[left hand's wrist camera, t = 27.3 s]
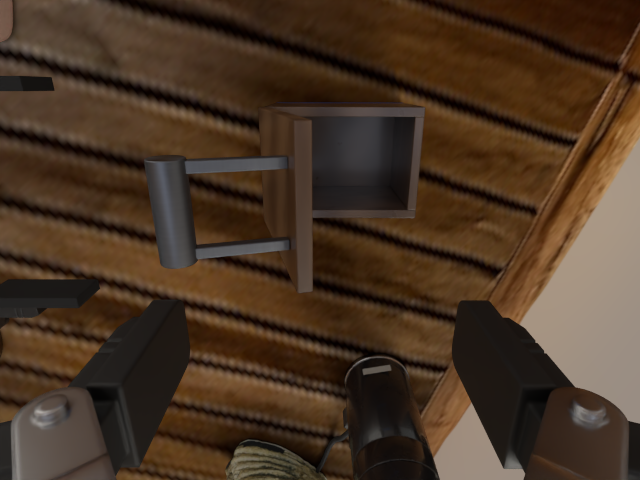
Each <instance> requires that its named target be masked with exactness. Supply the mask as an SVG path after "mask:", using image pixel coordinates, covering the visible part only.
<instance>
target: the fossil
mask: <svg viewBox="0 0 640 480" xmlns="http://www.w3.org/2000/svg"><path fill="white" fill-rule="evenodd" d="M225 471H226V475H227V480H327V479H326V477H325V476H324V475H323V474H322V473H320V472H319V473H316V468H315V467H314V466H312V465H311V464H309V463H308V462H306V461H304V460H303V459H302V458H301V457H299V456H298V455H296V454H294V453H292V452H291V451H289V450H287V449H285V448H283V447H281V446H278V445H276V444H271V443H268V442H261V441H258V440H246V441H243V442H241V443H240V444H239V445H238V446H237V448H236V449H235V452H234V456H233V459H232V460H231V461H230V462H229V463H228V465H227V467H226V470H225Z"/></svg>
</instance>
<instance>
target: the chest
mask: <svg viewBox="0 0 640 480" xmlns="http://www.w3.org/2000/svg"><path fill="white" fill-rule="evenodd" d="M266 107H270V108H274V109H277V110H280V111H284V112H287V113H290V114H293V115H297V116H300V117H303V118H307V119H310V120H312V218H415V209H416V199H417V189H418V178H419V168H420V157H421V146H422V136H423V125H424V115H425V107H422V106H416V105H411V104H405V103H339V102H277V103H275V104H272V105H269V106H266Z"/></svg>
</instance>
